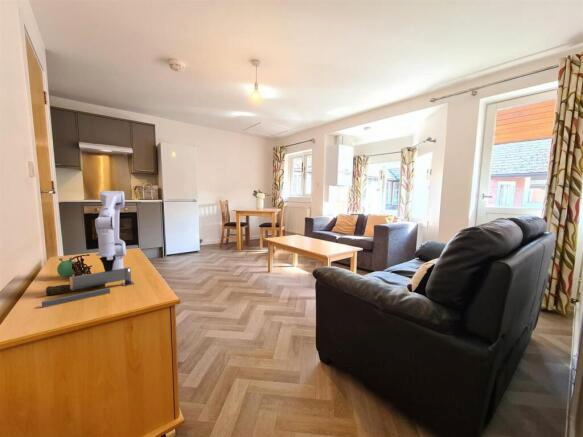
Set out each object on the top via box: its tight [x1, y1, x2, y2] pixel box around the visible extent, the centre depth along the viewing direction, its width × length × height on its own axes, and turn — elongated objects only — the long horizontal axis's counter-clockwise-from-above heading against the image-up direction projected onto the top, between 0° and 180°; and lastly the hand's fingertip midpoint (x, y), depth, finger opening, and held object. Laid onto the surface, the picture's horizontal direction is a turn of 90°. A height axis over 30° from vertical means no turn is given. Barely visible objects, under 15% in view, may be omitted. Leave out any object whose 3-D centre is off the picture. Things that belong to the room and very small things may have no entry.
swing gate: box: [69, 266, 132, 290], centre depth 105 cm, size 21×2×7 cm, turn 133°
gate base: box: [122, 280, 135, 287], centre depth 112 cm, size 4×4×1 cm
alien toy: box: [56, 257, 76, 279], centre depth 120 cm, size 7×8×10 cm
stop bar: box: [41, 287, 111, 308], centre depth 95 cm, size 2×20×2 cm, turn 133°
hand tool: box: [45, 283, 106, 297], centre depth 103 cm, size 19×4×5 cm, turn 118°
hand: (108, 272), depth 110 cm, fingers closed
